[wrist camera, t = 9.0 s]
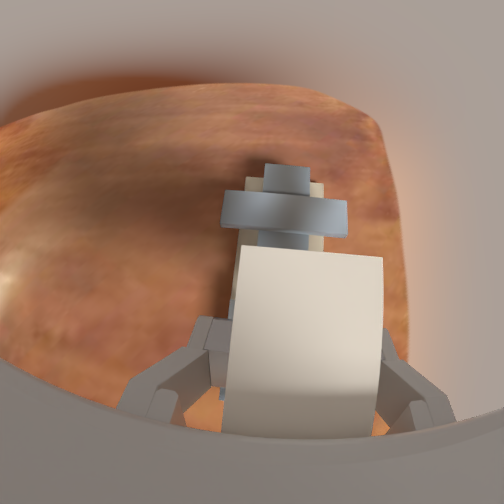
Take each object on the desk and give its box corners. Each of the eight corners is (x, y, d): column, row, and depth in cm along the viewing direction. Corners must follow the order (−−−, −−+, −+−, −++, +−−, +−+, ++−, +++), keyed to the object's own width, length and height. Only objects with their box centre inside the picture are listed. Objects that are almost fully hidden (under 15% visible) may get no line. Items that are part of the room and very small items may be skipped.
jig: (211, 389, 24) (197, 401, 18) (237, 182, 30) (232, 147, 25) (321, 398, 23) (337, 412, 17) (330, 190, 30) (343, 157, 24)
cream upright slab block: (242, 396, 13) (219, 453, 5) (252, 298, 14) (241, 245, 7) (312, 400, 13) (367, 456, 5) (320, 304, 14) (382, 257, 7)
